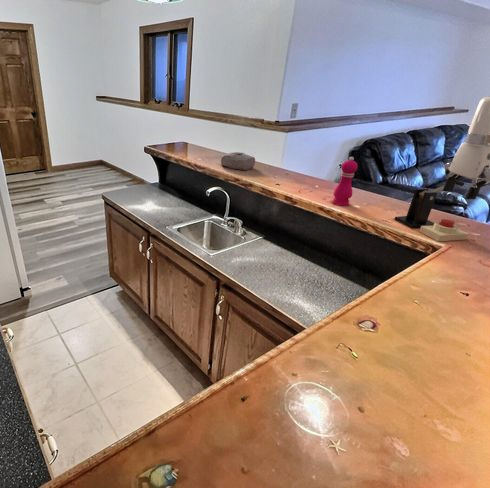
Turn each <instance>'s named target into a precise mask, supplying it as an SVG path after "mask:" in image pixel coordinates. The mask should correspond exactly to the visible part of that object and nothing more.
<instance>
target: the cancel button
mask: <svg viewBox="0 0 490 488" xmlns="http://www.w3.org/2000/svg"><path fill="white" fill-rule="evenodd" d="M440 221H441V222H440V225H441V226H444V227H450V228H451V227H453V225H455V222H454V221H453V220H452V219H451V220H450V219H445V218H443V219H441V220H440Z"/></svg>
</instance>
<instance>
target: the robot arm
mask: <svg viewBox="0 0 490 488" xmlns="http://www.w3.org/2000/svg"><path fill="white" fill-rule="evenodd" d="M443 167H444V174H445V179H446V180H445V184H444V185H445V186H444V185H443V186H444V189H443V190H442V191H443V192H452V191H453V190H454V189H455V186H456V185H455V183H456V180H457V179H456V178H458V177H459V176H460V177H464V178H467V179H471V186H470V187H469V188H468V191H467V192H466V196H465V199H466V200H475V199H477V197H478V195H479V192H480V190H481V189H482V188H484V187H485V186H487V185H489V184H490V96H484V97H482V98H481V99H480V100H479V102H478V105H477V107H476V109H475V113H474V115H473V118H472V120H471V123H470V126H469V128H468V131H467V133H466V136H465V138H464V141H462V142H461V144H460V146H459V147H458V149H457V151H456V152H455V155H454V156H453V159H452V161H448V162H446V163H445V164H444V165H443Z"/></svg>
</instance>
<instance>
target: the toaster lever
mask: <svg viewBox="0 0 490 488" xmlns="http://www.w3.org/2000/svg"><path fill="white" fill-rule="evenodd" d="M444 186H445V184H444V185H442V186H439V187H437V188H434V189H432V190H428V191H427V190H425V191H423V192H420V193H419V199H421V200H422V198H423V195H424V193H425V192H437V193H440V192H442V191H443V189H444ZM455 186H459V187H463V186H465V182H464V181H461V180H456V183H455Z"/></svg>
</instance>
